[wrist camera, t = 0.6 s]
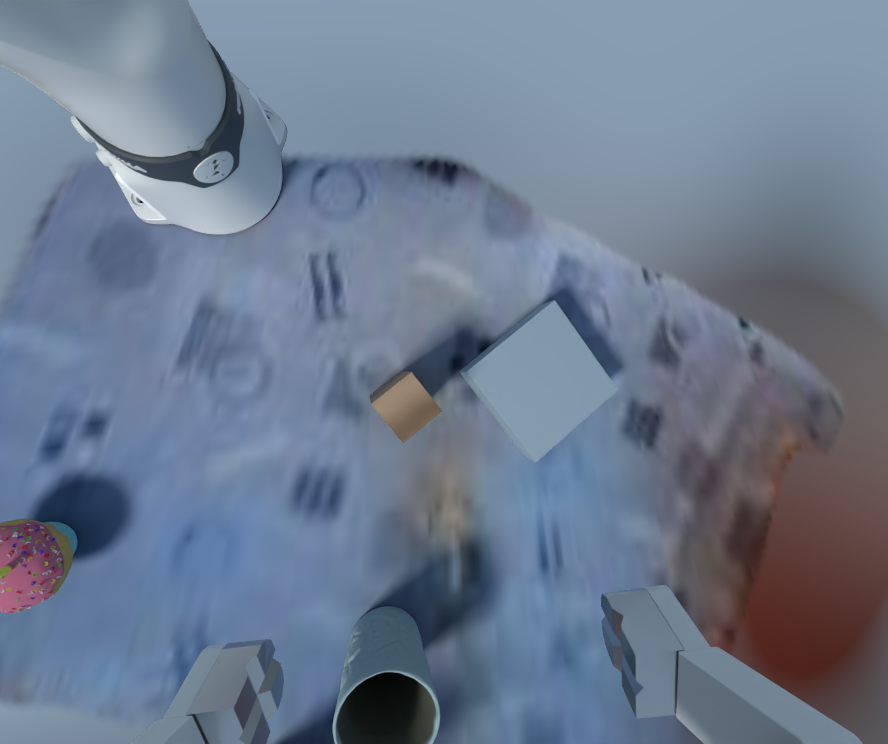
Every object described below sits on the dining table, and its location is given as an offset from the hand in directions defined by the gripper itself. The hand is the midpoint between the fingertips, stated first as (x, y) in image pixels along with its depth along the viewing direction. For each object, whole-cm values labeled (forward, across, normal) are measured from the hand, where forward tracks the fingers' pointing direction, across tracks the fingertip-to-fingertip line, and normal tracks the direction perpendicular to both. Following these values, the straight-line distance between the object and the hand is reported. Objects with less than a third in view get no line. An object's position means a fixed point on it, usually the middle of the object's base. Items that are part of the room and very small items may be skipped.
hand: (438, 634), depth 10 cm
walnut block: (+39, +6, +8) cm, 41 cm away
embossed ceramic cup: (+31, +12, +36) cm, 49 cm away
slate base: (+43, -11, +9) cm, 45 cm away
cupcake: (+29, +43, +15) cm, 55 cm away
